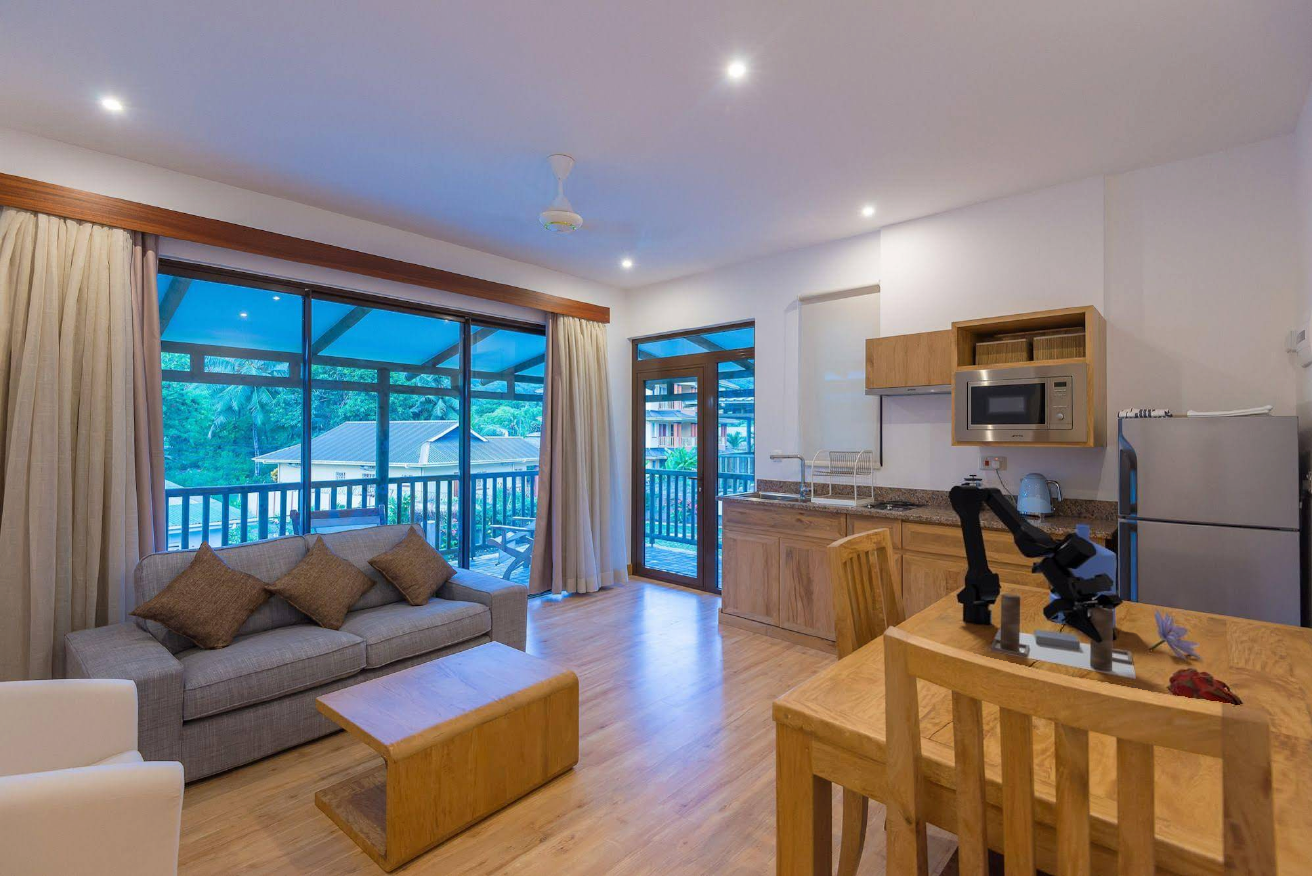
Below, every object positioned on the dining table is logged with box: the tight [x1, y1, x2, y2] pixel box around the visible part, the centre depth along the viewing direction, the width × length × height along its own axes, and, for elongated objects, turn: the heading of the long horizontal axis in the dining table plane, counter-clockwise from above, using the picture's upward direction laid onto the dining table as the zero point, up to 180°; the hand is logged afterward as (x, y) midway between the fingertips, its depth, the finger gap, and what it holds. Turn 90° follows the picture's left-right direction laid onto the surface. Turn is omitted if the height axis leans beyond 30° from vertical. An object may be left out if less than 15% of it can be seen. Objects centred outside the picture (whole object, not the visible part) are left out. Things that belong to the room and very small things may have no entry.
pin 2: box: [1089, 607, 1114, 671], centre depth 136 cm, size 4×4×13 cm
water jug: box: [1048, 524, 1118, 629], centre depth 172 cm, size 16×16×28 cm
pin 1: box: [1000, 593, 1021, 652], centre depth 148 cm, size 4×4×13 cm
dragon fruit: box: [1166, 667, 1244, 706], centre depth 118 cm, size 8×8×12 cm
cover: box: [1033, 628, 1081, 650], centre depth 152 cm, size 9×6×2 cm, turn 62°
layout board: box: [989, 628, 1137, 680], centre depth 147 cm, size 28×20×2 cm
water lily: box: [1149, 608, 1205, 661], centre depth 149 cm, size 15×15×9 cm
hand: (1107, 641), depth 135 cm, fingers closed on pin 2, 4 cm apart
